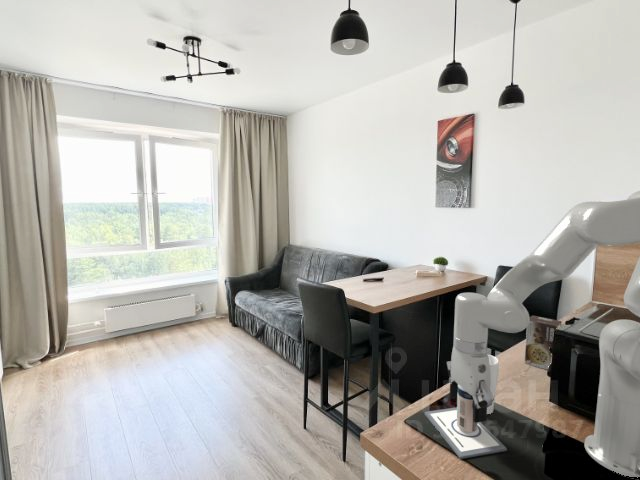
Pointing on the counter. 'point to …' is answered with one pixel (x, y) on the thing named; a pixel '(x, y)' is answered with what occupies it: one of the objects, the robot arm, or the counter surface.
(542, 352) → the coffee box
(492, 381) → the drinking glass
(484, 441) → the tablet
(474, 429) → the beer can
